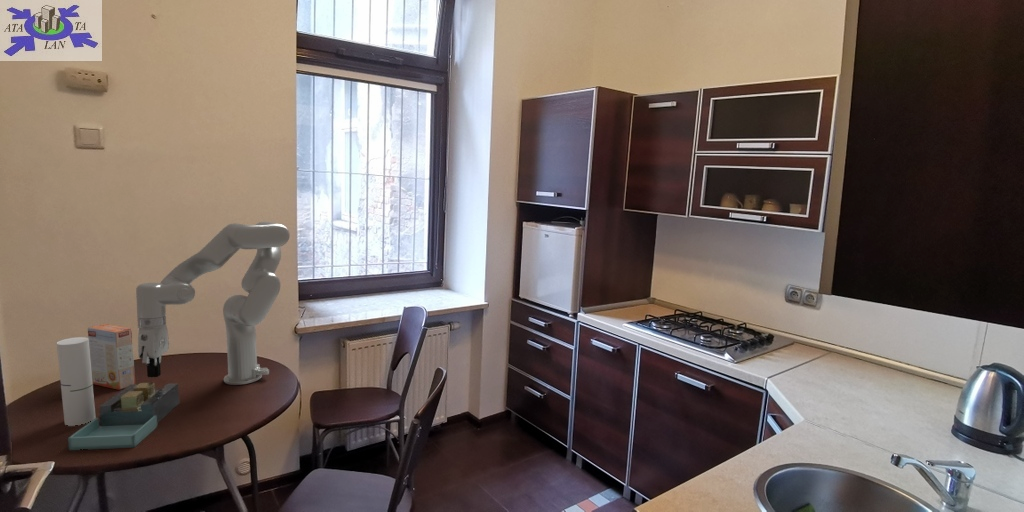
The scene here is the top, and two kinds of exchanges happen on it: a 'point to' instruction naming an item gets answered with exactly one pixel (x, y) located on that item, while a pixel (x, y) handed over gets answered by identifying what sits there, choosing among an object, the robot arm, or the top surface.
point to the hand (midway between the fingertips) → (154, 376)
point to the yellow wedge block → (146, 389)
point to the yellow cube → (132, 400)
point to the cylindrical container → (76, 380)
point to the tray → (110, 435)
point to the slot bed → (153, 406)
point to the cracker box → (111, 356)
